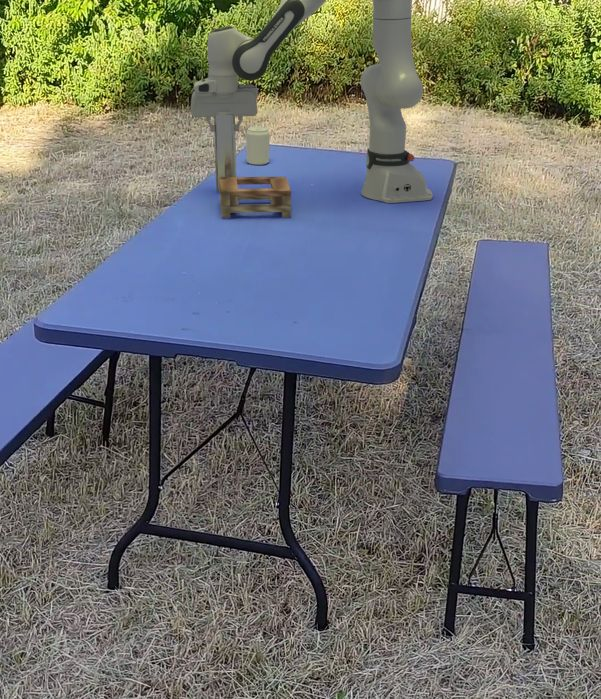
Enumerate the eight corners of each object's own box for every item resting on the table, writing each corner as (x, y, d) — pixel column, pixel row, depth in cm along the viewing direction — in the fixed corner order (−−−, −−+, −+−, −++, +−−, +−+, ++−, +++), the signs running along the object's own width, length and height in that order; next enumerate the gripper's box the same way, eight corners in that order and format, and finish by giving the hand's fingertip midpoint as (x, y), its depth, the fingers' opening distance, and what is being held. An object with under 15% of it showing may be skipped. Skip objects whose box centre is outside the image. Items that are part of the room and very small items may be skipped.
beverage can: (244, 164, 300) (244, 130, 295) (249, 159, 307) (249, 125, 302) (266, 166, 299) (266, 131, 294) (271, 160, 306) (271, 127, 301)
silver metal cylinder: (235, 193, 267) (233, 112, 255) (215, 192, 267) (212, 111, 255) (237, 186, 273) (235, 107, 261) (217, 186, 273) (214, 107, 261)
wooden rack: (285, 202, 262) (285, 176, 258) (290, 217, 248) (291, 190, 245) (220, 203, 259) (219, 177, 256) (221, 218, 246) (221, 191, 243)
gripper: (257, 82, 259) (257, 128, 265) (189, 82, 257) (191, 129, 263) (258, 86, 253) (259, 132, 260) (189, 86, 251) (191, 133, 257)
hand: (224, 131), depth 261 cm, fingers closed on silver metal cylinder, 6 cm apart
